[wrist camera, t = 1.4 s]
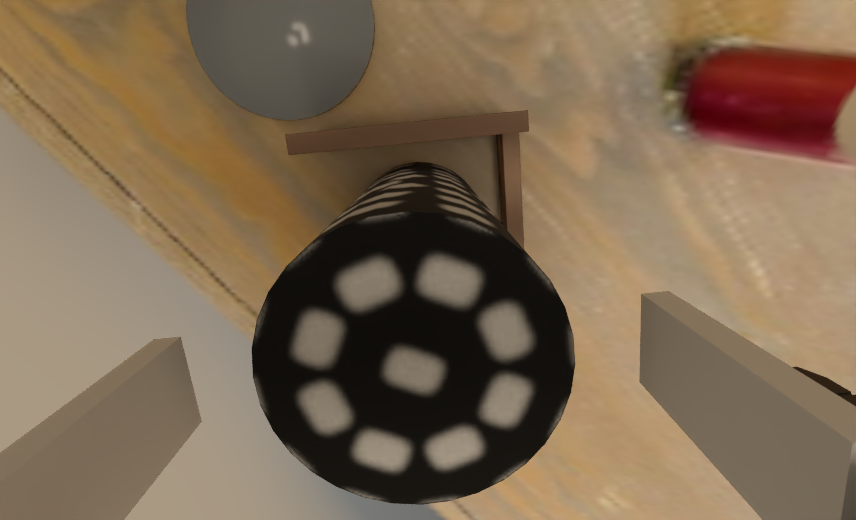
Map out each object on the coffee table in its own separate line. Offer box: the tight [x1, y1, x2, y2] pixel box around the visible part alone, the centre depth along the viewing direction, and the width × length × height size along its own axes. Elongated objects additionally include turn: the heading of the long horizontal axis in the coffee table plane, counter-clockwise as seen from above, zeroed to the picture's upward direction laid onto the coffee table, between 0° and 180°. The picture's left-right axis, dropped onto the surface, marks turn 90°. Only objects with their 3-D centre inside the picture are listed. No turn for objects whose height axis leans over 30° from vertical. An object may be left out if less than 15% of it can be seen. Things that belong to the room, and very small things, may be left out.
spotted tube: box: [252, 162, 575, 504], centre depth 22 cm, size 8×8×20 cm
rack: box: [285, 110, 529, 249], centre depth 28 cm, size 13×12×7 cm
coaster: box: [186, 0, 375, 120], centre depth 28 cm, size 11×11×1 cm
